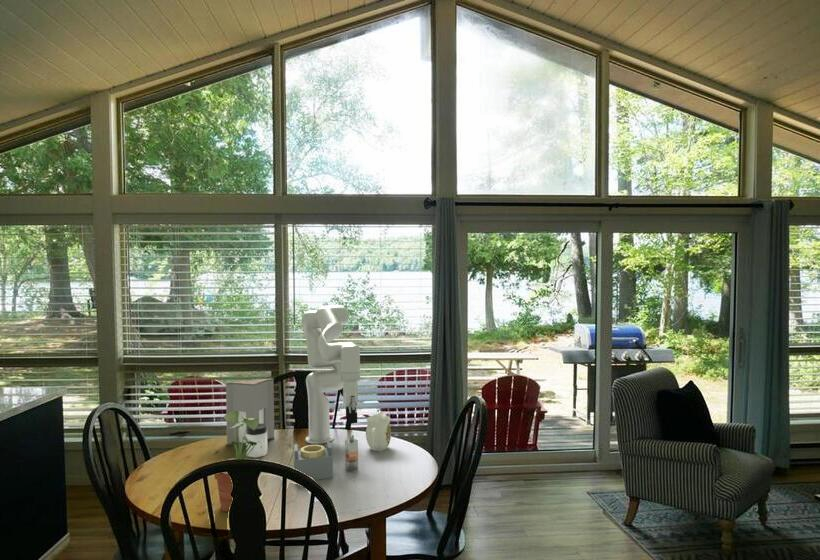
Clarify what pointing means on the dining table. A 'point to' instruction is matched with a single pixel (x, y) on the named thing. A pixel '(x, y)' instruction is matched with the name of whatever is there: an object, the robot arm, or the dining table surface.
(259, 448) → the jar
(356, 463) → the cocktail shaker
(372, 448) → the pitcher
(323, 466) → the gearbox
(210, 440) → the dining table surface
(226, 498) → the potted plant
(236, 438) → the cabinet
